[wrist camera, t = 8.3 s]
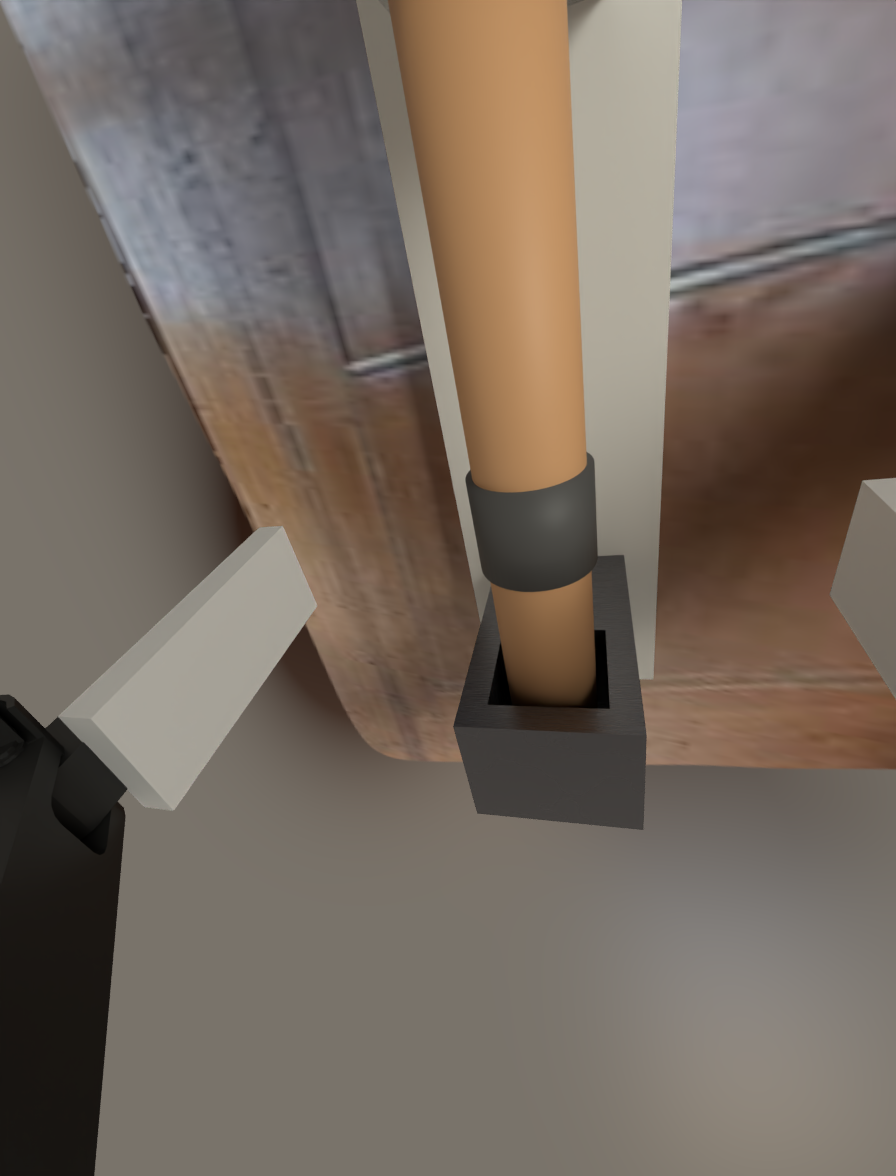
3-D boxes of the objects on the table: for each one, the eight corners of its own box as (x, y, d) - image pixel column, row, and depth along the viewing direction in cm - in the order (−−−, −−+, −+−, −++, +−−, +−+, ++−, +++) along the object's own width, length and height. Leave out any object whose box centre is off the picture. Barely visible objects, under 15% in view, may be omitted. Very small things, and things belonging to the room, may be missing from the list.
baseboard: (257, -590, 11) (217, -691, 10) (711, -980, 8) (732, -1184, 7) (494, 659, 31) (491, 676, 29) (650, 660, 28) (653, 679, 27)
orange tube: (383, -112, 10) (299, -257, 7) (571, -203, 9) (564, -418, 6) (515, 686, 21) (505, 756, 19) (602, 688, 20) (605, 762, 18)
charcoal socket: (497, 561, 25) (453, 726, 16) (623, 554, 23) (646, 735, 15) (509, 637, 27) (477, 813, 19) (624, 637, 26) (643, 829, 17)
